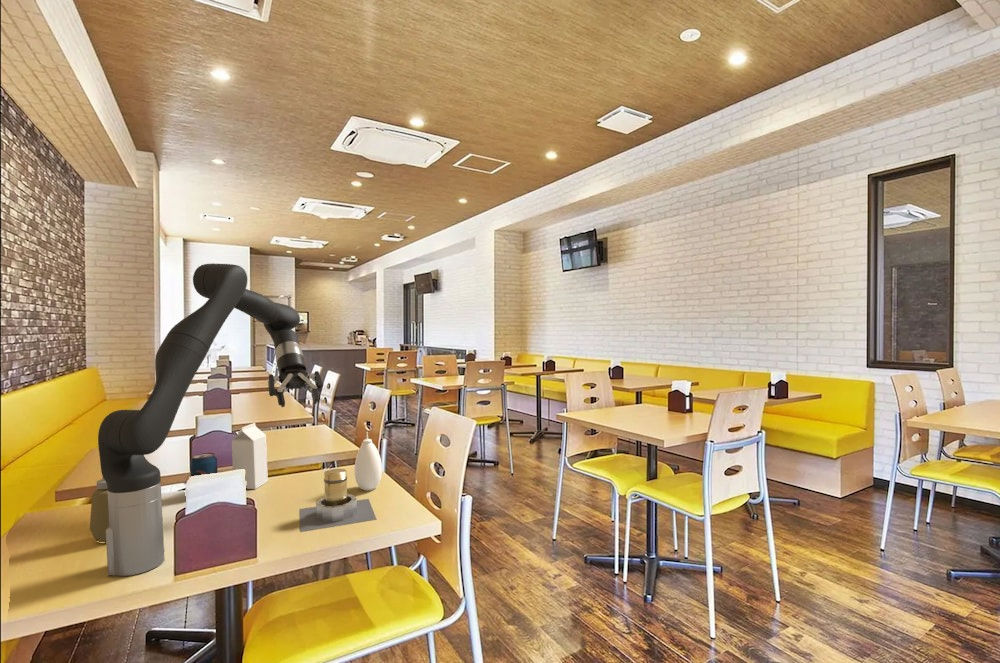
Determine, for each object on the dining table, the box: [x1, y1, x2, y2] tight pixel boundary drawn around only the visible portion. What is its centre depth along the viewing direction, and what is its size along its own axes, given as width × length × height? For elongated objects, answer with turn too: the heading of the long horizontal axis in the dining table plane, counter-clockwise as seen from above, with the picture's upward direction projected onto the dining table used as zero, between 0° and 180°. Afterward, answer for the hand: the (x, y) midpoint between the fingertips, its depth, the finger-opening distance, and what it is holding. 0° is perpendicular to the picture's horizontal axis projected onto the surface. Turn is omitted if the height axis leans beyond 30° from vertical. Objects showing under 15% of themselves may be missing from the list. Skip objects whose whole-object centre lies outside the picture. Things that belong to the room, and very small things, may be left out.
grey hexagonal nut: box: [315, 493, 357, 522], centre depth 134 cm, size 10×10×4 cm
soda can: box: [189, 452, 219, 477], centre depth 153 cm, size 7×7×12 cm
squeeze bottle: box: [89, 476, 109, 542], centre depth 124 cm, size 8×8×18 cm
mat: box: [299, 498, 378, 533], centre depth 134 cm, size 18×16×1 cm
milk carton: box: [231, 422, 269, 490], centre depth 161 cm, size 7×7×19 cm
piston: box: [323, 468, 348, 506], centre depth 134 cm, size 6×6×11 cm
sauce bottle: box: [354, 431, 383, 492], centre depth 153 cm, size 8×8×18 cm
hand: (299, 403), depth 144 cm, fingers open, 8 cm apart
